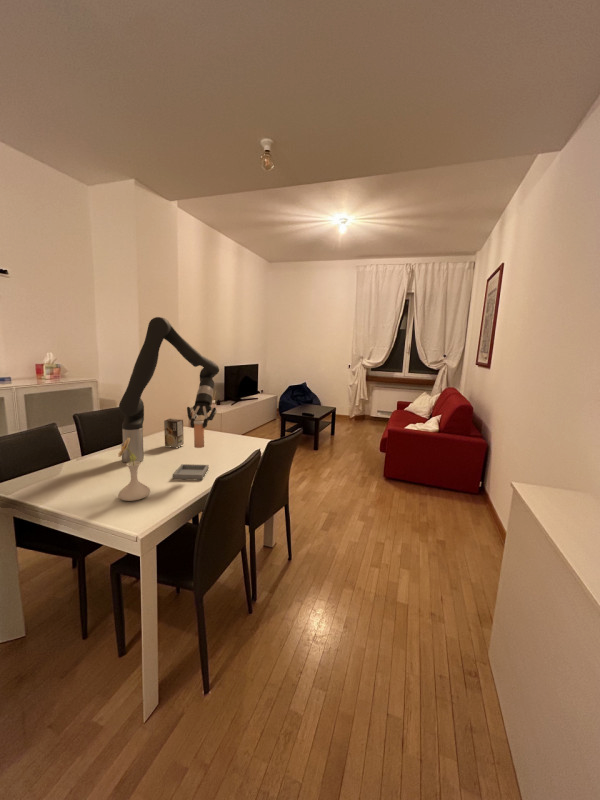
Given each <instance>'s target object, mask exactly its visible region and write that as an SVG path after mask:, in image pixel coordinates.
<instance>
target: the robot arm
mask: <svg viewBox="0 0 600 800" xmlns="http://www.w3.org/2000/svg"><path fill="white" fill-rule="evenodd" d="M164 340H165V341H167V342H168V343H169V344H171V346H172V347H174V349H176V351H177V352H179V354H180V355H181V356H182V357H183V359H185V360H186V361H187V362H188V363H189V364H191V365H192V367H194V368H196V367H199V366H200V367H202V368H201V370H200V372H199V386H198V389H197V392H196V397H195V400H194V405H193V406H192V407H190V406H187V407H186V411H187V417H188V420H189V421H190V427H191V428H193V429H194V420H197V419H198V417H199V416H204V418H203V420H204V423H203V428H204V429H206V428H207V427H208V422H210V421H213V419H214V418H215V415H216V414H217V408H216V407H212V403H213V402H212V401H213V398H214V388H215V381H214V378H215V377H216V376H217V375H219V372H220V367H219V365H218V364H217V363H216V362H214V361H213V360H212V359H209V358H208V357H206V356H204V355H202V354H201V353H200V352H199V351H198V350H197V349H196V348H194V347H193V346H192V345H191V344H190V343H189V342H188V341H187V340H186V339H184V338H183V337H182V336H181V335H180V334H179V333H178V332H177V331H176V330H175V328H174V327H173V326H172V324H171V323H170V321H169V320H168V319H166V318H165V317H159V316H156V317H153V318H152V319H151V320H150V321H149V323H148V325H147V330H146V334H145V338H144V342H143V344H142V347H141V349H140V351H139V353H138V355H137V358H136V361H135V363H134V366H133V369H132V373H131V374H130V379H129V381H128V384H127V386H126V389H125V391H124V394H123V395H122V398H121V399H120V402H119V404H118V410H119V413H120V414H121V415H123V416H124V420H123V421H122V423H121V427H122V429H121V430H122V443H121V444H120V447H122V446H124V443H125V440H126V441H127V438H128V439H129V438H130V441H129V444H128V446H127V447H128V449H129V450H130V452H131V453H134V455H135V456H136V457H137V459H136V460H135V461H137V462H140V461H141V462H143V461H144V460H143V459H145V458H144V456H145V455H144V453H145V452H144V432H143V431H144V428H143V427H144V426H143V425H144V420H145V405H144V401H143V400H142V398H141V397H142V394H143V392H144V390H145V388H147V386H148V384H149V383H150V381H151V379H152V378H153V376H154V375H155V371H156V368H157V364H158V361H159V356H160V355H159V354H160V348H161V345H162V344H163V341H164ZM193 411H194V412H193ZM192 412H193V414H192ZM208 413H210V414H209V416H208ZM128 449H126V450H125V451H124V453H123V454H122V455H121V463H125V462H126V463H125V464H127V463H129V462H130V461H131V459H130V458H129V457H130V455H131V454H130V452H129V450H128ZM121 450H122V449H121V448H120V451H121ZM142 460H143V461H142ZM132 462H133V461H132Z"/></svg>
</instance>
